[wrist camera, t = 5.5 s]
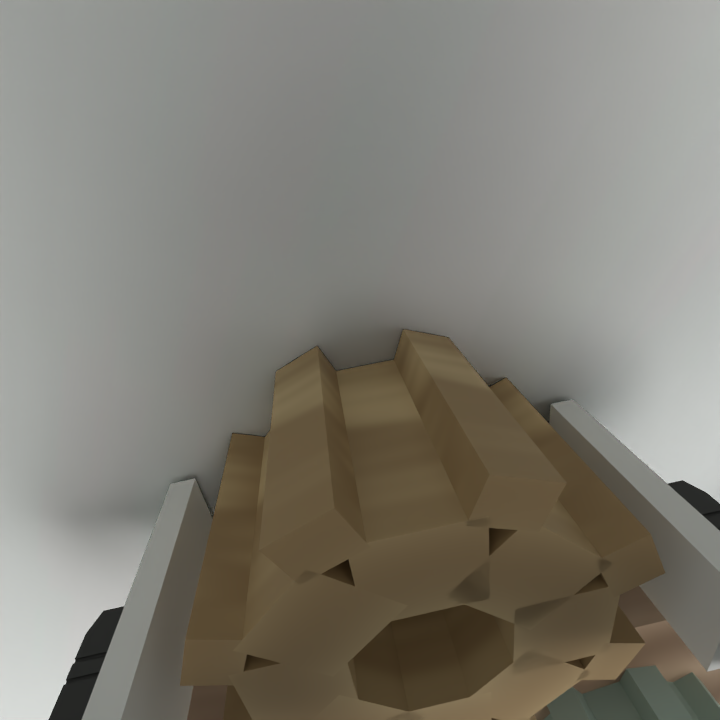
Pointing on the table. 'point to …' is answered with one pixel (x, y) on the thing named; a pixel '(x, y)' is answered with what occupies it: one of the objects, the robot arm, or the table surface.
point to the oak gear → (410, 552)
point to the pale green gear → (639, 699)
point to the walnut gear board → (658, 650)
